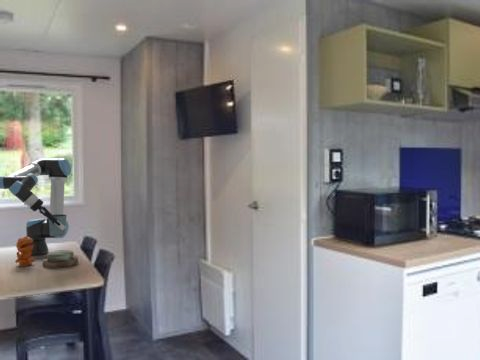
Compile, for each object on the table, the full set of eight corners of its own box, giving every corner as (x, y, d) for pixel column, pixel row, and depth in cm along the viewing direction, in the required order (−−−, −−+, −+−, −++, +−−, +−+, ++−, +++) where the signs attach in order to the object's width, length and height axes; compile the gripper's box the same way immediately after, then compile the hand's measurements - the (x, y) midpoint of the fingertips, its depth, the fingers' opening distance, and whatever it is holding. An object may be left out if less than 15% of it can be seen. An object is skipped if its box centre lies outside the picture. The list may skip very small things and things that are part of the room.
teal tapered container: (44, 235, 269) (44, 215, 268) (57, 232, 278) (57, 213, 278) (58, 237, 265) (57, 216, 264) (70, 234, 274) (70, 214, 274)
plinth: (54, 259, 286) (54, 249, 285) (84, 261, 283) (84, 250, 283) (36, 267, 266) (35, 255, 266) (67, 268, 263) (67, 257, 263)
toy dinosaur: (27, 267, 266) (26, 237, 265) (11, 266, 268) (10, 236, 267) (39, 263, 277) (38, 234, 276) (23, 262, 279) (23, 233, 278)
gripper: (28, 205, 274) (57, 229, 282) (29, 209, 254) (60, 235, 262) (37, 196, 276) (65, 220, 284) (39, 199, 256) (69, 225, 264)
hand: (63, 227), depth 273 cm, fingers closed on teal tapered container, 10 cm apart
